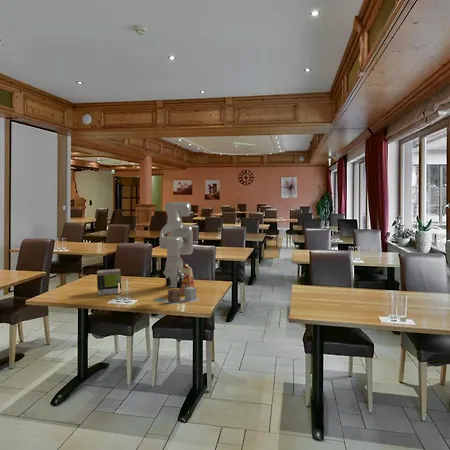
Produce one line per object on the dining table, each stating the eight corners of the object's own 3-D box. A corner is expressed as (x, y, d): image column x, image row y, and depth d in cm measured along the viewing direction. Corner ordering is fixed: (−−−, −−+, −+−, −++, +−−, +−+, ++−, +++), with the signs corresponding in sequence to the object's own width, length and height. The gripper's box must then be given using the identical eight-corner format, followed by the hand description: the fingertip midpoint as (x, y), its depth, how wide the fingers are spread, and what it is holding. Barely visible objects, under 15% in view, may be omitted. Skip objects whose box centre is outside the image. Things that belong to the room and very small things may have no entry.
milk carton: (191, 295, 256) (191, 264, 254) (177, 294, 258) (177, 263, 256) (195, 291, 265) (195, 262, 263) (182, 291, 267) (181, 261, 265)
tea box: (120, 290, 271) (120, 268, 269) (121, 293, 261) (121, 271, 260) (97, 291, 266) (96, 269, 265) (97, 295, 256) (96, 272, 255)
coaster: (152, 300, 243) (152, 300, 243) (161, 298, 248) (161, 297, 248) (159, 302, 238) (159, 302, 238) (168, 300, 244) (168, 299, 244)
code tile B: (180, 300, 244) (180, 299, 244) (190, 297, 251) (190, 296, 251) (190, 302, 238) (190, 302, 238) (201, 299, 245) (201, 299, 245)
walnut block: (168, 301, 240) (167, 290, 239) (174, 300, 243) (174, 288, 243) (173, 303, 236) (173, 291, 236) (179, 301, 240) (179, 289, 239)
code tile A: (163, 302, 239) (163, 301, 239) (174, 299, 246) (174, 298, 246) (173, 305, 233) (173, 304, 233) (184, 301, 240) (184, 301, 240)
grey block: (184, 299, 244) (184, 288, 244) (190, 297, 248) (190, 286, 248) (190, 300, 241) (190, 289, 241) (196, 299, 245) (196, 288, 244)
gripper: (159, 257, 240) (159, 286, 241) (178, 260, 229) (178, 290, 230) (168, 256, 246) (168, 284, 247) (188, 259, 235) (188, 287, 236)
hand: (173, 286), depth 238 cm, fingers open, 9 cm apart
